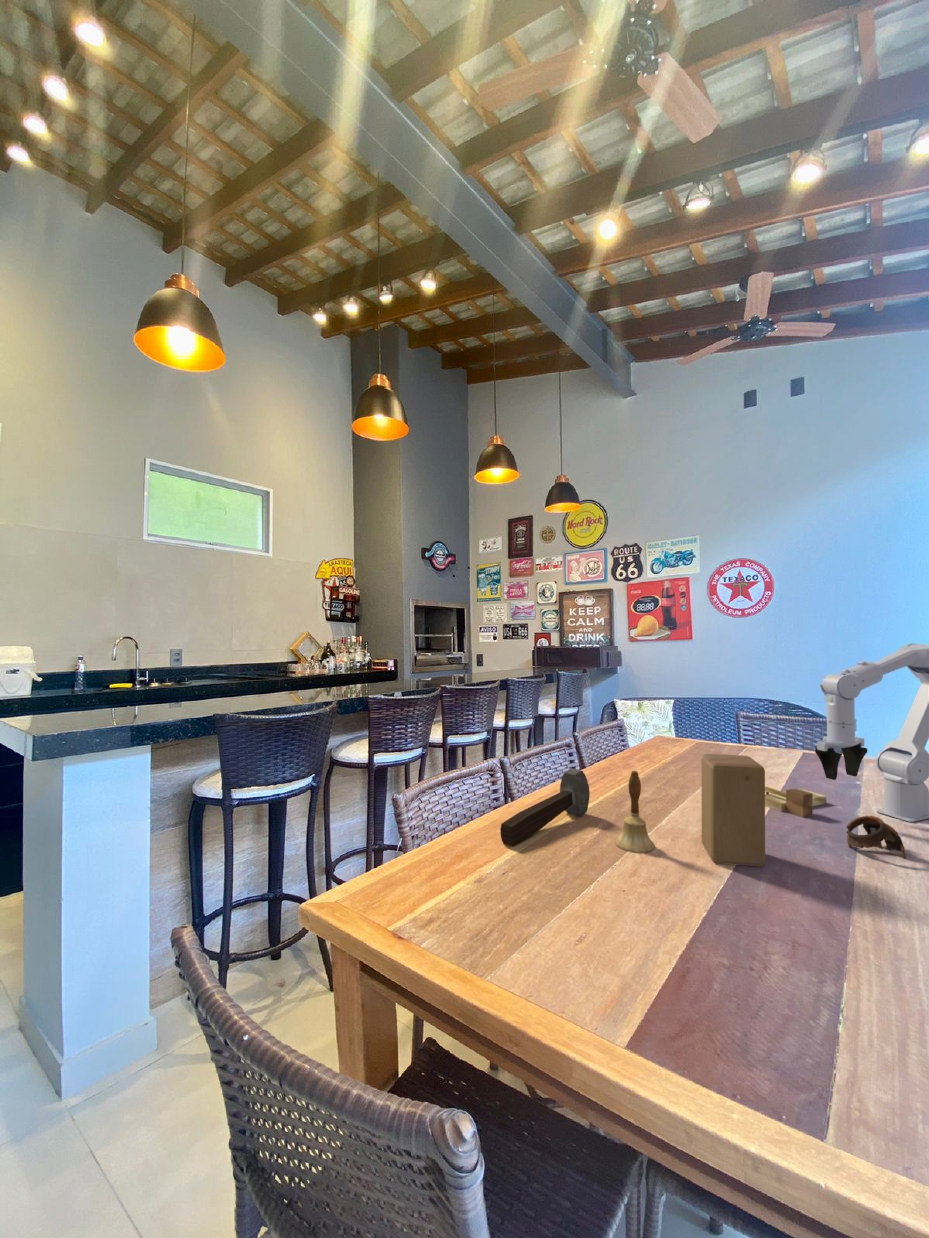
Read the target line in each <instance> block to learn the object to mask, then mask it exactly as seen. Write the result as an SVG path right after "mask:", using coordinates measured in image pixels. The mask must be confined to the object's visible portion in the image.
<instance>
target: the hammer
mask: <svg viewBox="0 0 929 1238" xmlns="http://www.w3.org/2000/svg"><path fill="white" fill-rule="evenodd" d="M589 785H590V784H589V780H588V779H587V776H586V774H585V772H584V771H583V770H581V769H577V768H569V769H568V770H566V771H565V772H564V773H563V774H562V777H561V780H560V785H559V792H558V793H556V794H554V795H551V796H550V797H548V798H546V799H544V800H541V801H539V802H537V803H535V804H533V805H531V806H530V807H527V808H524V809H523V810H521V811H520V812H517V813H516V814H514V815H512V816H511V817H510V818H508V819H507V820H504V821H503V822H502V823H501V824H500V839H501V841H502V843H503V844H506V845H508V846H511V847H515V846H517V845H520V844H521V843H523V842H524V841H526V840H528V839H530V838H531V837H532V836H534V835H535V834H536V833H538V832H539V831H540V830H541V829H543V828H544V827H545V826H547V825H548V824H549V823H550V822H552V821H553V820H554V819H555V818H557V817H558V816H560V815H561V814H562V813H563V812H566V814H568V815H572V814H573V816H576V817H579V818H581V817H583V816H585V815H586V813H587V812H588V808H589V803H590V796H591V795H590V792H591V791H590V786H589Z"/></svg>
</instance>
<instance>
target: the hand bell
mask: <svg viewBox="0 0 929 1238" xmlns="http://www.w3.org/2000/svg"><path fill="white" fill-rule="evenodd" d="M641 791H642V784H641V779H640V776H639V772H638V771H637V770H632V771H631V772H630V777H629V779H628V793H629V796H630V816H626V817H625V818H624V819H623V825H622V826H623V827H622V830H621V833H620V834H619V835H618V836H617V837H616V838H615V840H614V844H615V845H616V846H617V847H618V848H620V849H621V850H623V849H624V851H626V850H627V852H629V853H630V852H632V853H636V852H646V853H649V852H652V850H653V849H654V850H655V848H656V846H655V845H656V844H654V841H653V840H652V839H650V836H649V834H648V831H647V824H646V820H645V819H643V818H641V817H640V810H639V809H640V808H639V807H640V805H639V801H640V795H641ZM654 850H653V851H654Z"/></svg>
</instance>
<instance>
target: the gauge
mask: <svg viewBox="0 0 929 1238" xmlns="http://www.w3.org/2000/svg"><path fill="white" fill-rule="evenodd" d="M799 789H800V788H789V789H786V790H785V791H786V793H785V791H780V790H778V789H775V788H773V787H769V786H765V795H766V794H767V795H769V794H775V795H778V796H781V797H784V798H786V811H785V812H786V813H789V814H793V815H796V816H798V817H800V818H806V817H812V816H813V813H814V812H813V811H814V810H813V807H814V806H813V802H812V793H809V792H806V791H802V790H799Z"/></svg>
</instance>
